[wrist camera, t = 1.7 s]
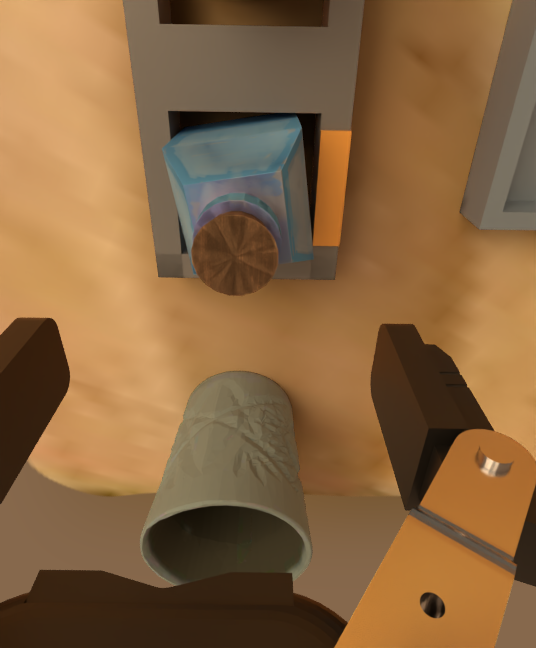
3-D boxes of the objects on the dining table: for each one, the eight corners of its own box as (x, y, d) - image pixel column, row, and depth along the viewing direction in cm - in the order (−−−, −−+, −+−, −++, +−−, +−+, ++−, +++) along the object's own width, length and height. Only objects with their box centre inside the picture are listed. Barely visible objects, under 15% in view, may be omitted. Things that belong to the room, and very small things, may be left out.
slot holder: (111, -250, 17) (80, -307, 15) (377, -244, 17) (397, -299, 15) (168, 256, 29) (157, 279, 26) (329, 259, 29) (335, 282, 26)
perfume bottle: (184, 126, 25) (125, 182, 15) (294, 109, 24) (313, 155, 14) (207, 231, 28) (173, 337, 18) (305, 218, 28) (326, 319, 17)
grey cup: (323, 392, 35) (345, 534, 25) (265, 469, 40) (263, 614, 30) (204, 344, 33) (175, 480, 22) (158, 432, 37) (116, 576, 27)
